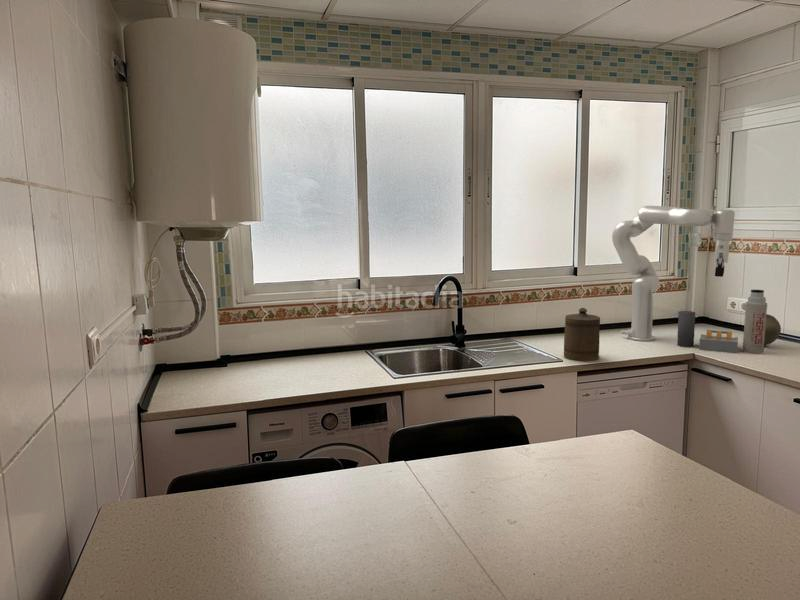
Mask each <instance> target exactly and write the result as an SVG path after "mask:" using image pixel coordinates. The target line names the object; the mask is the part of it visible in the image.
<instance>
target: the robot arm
mask: <svg viewBox="0 0 800 600" xmlns="http://www.w3.org/2000/svg"><path fill="white" fill-rule="evenodd" d="M735 215H736V214H735V210H733V209H718V210H717V209H711V208H710V209H705V208H704V209H703V208H702V209H700V208H699V209H697V208H682V207H677V206H669V205H667V206H665V205H663V206H662V205H644V206H642V207H640V208H639V210H638V212H637V216H636V217H634V218H633V219H632V220H623V221H620V222H619V223H618V224H617V225H616V226H615V227H614V229H613V231H612V234H611V235H612V236H611V238H612V244H613V246H614V248H615V251H616V253H617V255H618V257H619V259H620V261H621V263H622V266H623V267H624V269H625V272H626V273H628V274H629V275H631V276H635V279H634V280H633V281H632V283H631V294H632V296H631V298H632V299H631V300H632V301H631V302H632V304H631V325H630V326H631V327H630V328H629V329H628V330H624V329H622V330H620V334H621V335H625V336H626V335H627V339H628V340H632V341H639V342H641V341H642V342H651V341H654V340H655V339H656V337H655V336H654V335H653V320H654V319H653V314H654V296H653V294H654V293H655V292H656V291H658V289H659V288H660V280H659V277H658V274H657V273H656V271H655V268H654V267H653V264H652V263H651V262H650V259H648V258H647V256H645V255H641V254H639V253H638V251H637V248H636V247H635V245H634V243H633V241H631V238H637V237H638V236H640V235H642V234H643V233H644V232H646V231H647V230H648V229H650V228H651V227H652V226H654V224H655V225H667V226H669V225H670V226H690V227H691V226H692V227H693V226H694V227H707V226H709V227H710V226H714V227H713V238H712V241H713V242H715V250H714V251H715V252H714V263H716V266H715V270H714V271H715V272H714V277H720V278H721V277H724V273H725V264H727V263H728V262H729V254H730V253H729V252H730V242H733V235H734V225H735Z"/></svg>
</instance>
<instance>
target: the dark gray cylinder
mask: <svg viewBox="0 0 800 600" xmlns="http://www.w3.org/2000/svg"><path fill="white" fill-rule="evenodd" d="M677 320H678V321H677V322H678V323H677V338H676V339H677V340H676V341H677V342H676V346H678V347H680V348H681V347H682V348H693V347H694V345H695V329H696V327H695V325H696V324H695V323H696V312H695V311H692V310H680V311H678V317H677Z"/></svg>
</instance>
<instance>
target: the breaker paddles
mask: <svg viewBox="0 0 800 600" xmlns="http://www.w3.org/2000/svg"><path fill="white" fill-rule="evenodd" d="M706 334H707V337H712V334H716V335H717V336H716V338H721V337H722V335H727V338H726V339H732V336H733V331H729V330H728V331H727V330H714V329H707V330H706Z"/></svg>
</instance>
